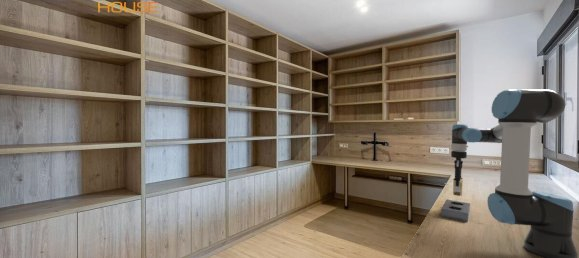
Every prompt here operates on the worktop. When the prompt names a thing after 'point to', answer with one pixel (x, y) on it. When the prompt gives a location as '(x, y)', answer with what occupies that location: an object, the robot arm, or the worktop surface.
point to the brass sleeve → (460, 188)
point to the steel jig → (455, 210)
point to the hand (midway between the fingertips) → (457, 190)
